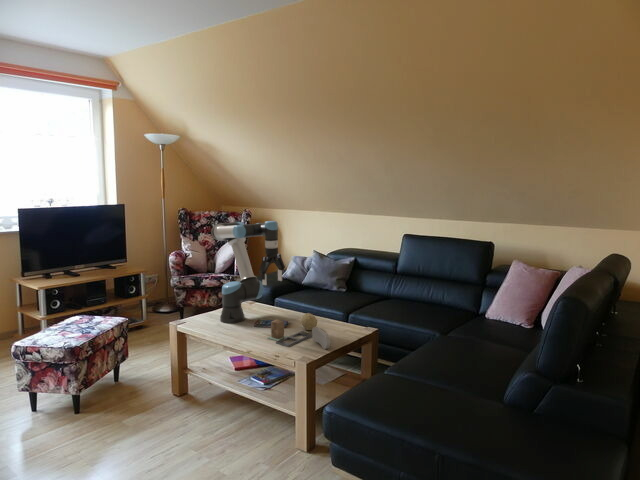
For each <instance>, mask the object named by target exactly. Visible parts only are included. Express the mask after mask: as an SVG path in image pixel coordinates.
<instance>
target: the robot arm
mask: <svg viewBox="0 0 640 480" xmlns="http://www.w3.org/2000/svg"><path fill="white" fill-rule="evenodd" d="M210 231H211V232H210V234H211V236H212V238H213V239H214V240H216V241H219V242H220V241H221V242H222V241H223V242H224V241H227V243H228V245H230V246H231V248H232V252H233V255H234V260H235V264H236V267H237V270H238V273H239V278H240V280H238V281H237V280H235V281H229V282H225V284H224V283H223V285H222V287H221V297H222V301H221V302H222V309H221V313H220V316H219V321H220V322H221V323H227V324H233V323H234V324H235V323H239V322H240V323H241V322H243V321H245V317H246V315H245V314H244V311H243V306H242V303H243V302H248V301H256V300H258V299H260V298H262V296H263V294H264V286H267V285H268V284H267V281H268V280H267V271H268V269H269V267H270V265H271V264H274V265H275V266H276V267H277V268H278V269H277V281H280V282H282V281H283V271H284V270H285V268H286V266H285V263H284V261H283V258H282V254H281V253H279V227H278V222H277V220H267V221H264V222H257V223H251V224H250V223H249V224H248V223H247V224H244V223H243V222H241V221H233V222H222V223H216V224H214V226H213V227H212V228H211V230H210ZM252 237H264V249H265V250H264V251H265V256H262V257H261V258H262V260H261V263H260V267H259V270H258V273H259V275H261V280H259V279H258V277H257V276H256V275H254V272H253V269H252V268H253V267H252V265H251V261H250V257H249V255H248V250H247V247H246V244H245V243H246V240H247V239H246V238H252Z"/></svg>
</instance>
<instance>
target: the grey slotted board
mask: <svg viewBox="0 0 640 480" xmlns="http://www.w3.org/2000/svg"><path fill="white" fill-rule="evenodd" d="M297 336H302V337H297ZM311 337H312V332H307V331H303V330H301V331H298V332H295V333H292V334H291V335H288V337H286V338H283V339H281V340H279V341H275V344H277V345H280V346H283V347H284V346H285V347H286V348H289V347H292V346H293V345H297V344H299V343H300V342H304V341H306V340H307V339H309V338H311ZM312 338H313V337H312ZM287 340H290V341H291V342H288V341H287Z"/></svg>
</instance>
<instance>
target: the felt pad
mask: <svg viewBox="0 0 640 480" xmlns="http://www.w3.org/2000/svg"><path fill="white" fill-rule="evenodd" d="M288 336H289V335H288ZM288 336H287V335H284V337H282V338H279V339H276V338H272V337H271V335H270V336H268V337H266V338H267V339H268V340H271V341H275V342H276V341H279V340H281V339H283V338H286V337H288Z"/></svg>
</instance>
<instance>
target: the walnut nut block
mask: <svg viewBox="0 0 640 480" xmlns="http://www.w3.org/2000/svg"><path fill="white" fill-rule="evenodd" d="M284 321H285V320H282V319H274V320H272V321H270V336H271V337H272V338H276V339H279V338H282V337H284V336H285V322H284Z"/></svg>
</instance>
